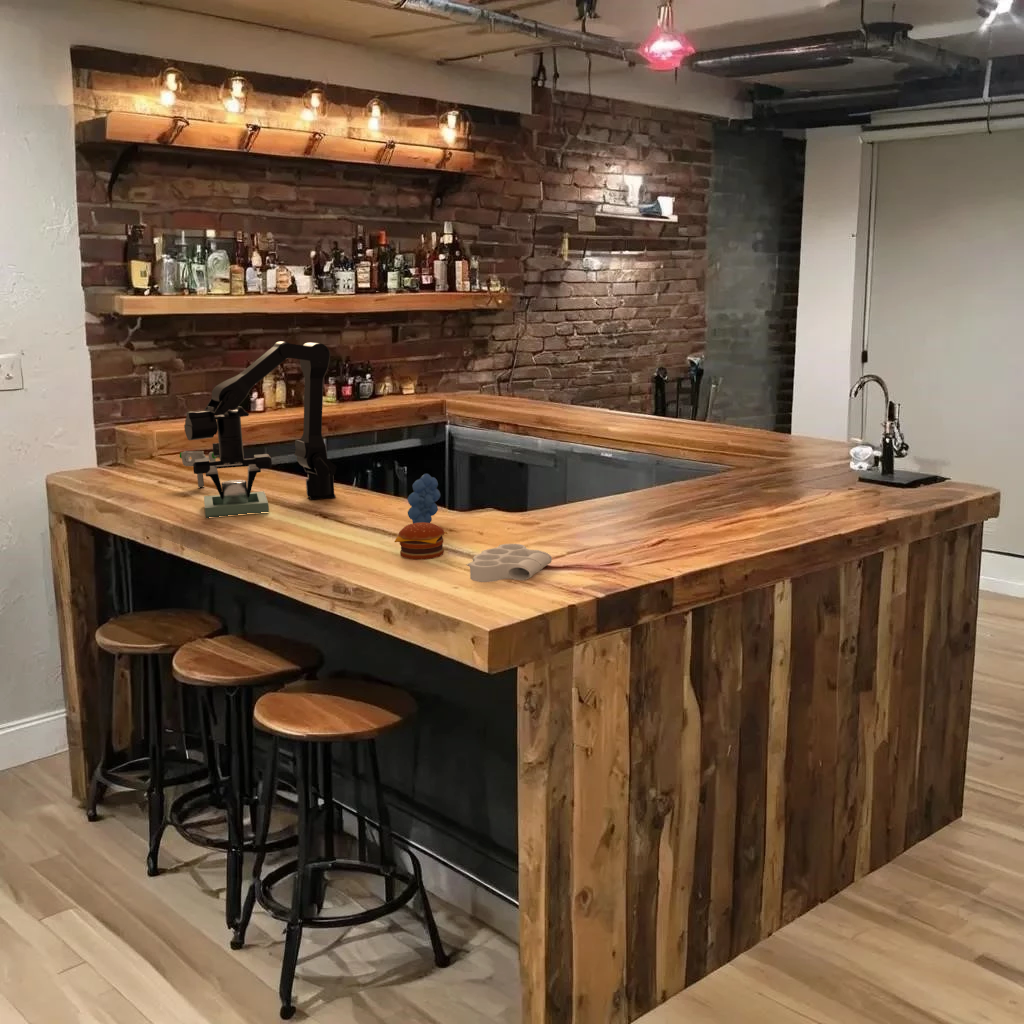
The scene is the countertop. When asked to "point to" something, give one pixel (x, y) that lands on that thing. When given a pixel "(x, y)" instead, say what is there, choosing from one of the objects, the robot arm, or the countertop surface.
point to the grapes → (423, 499)
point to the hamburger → (421, 541)
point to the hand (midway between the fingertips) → (235, 497)
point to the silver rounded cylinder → (234, 492)
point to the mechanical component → (194, 455)
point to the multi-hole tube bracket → (507, 563)
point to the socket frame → (235, 505)
